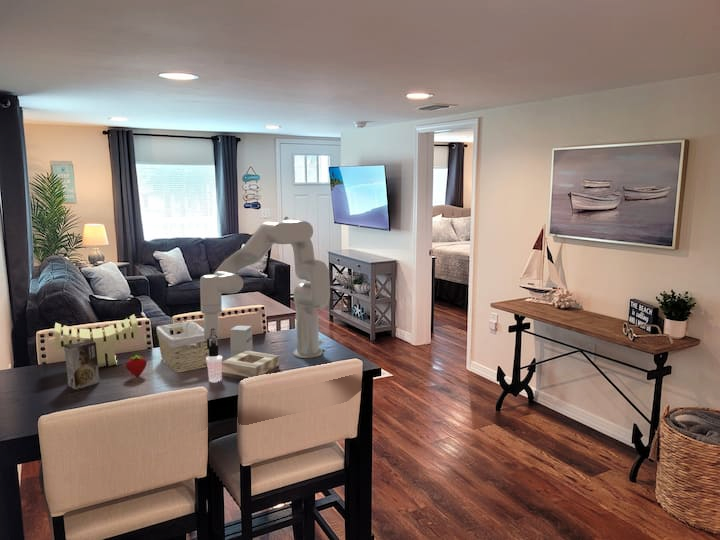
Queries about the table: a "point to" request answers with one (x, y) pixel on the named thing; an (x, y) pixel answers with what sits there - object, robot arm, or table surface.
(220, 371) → the beverage cup
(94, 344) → the coffee box
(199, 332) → the storage basket
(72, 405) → the table surface
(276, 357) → the socket block
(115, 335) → the slatted curved stool
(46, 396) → the table surface
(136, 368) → the strawberry
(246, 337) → the supplement box
